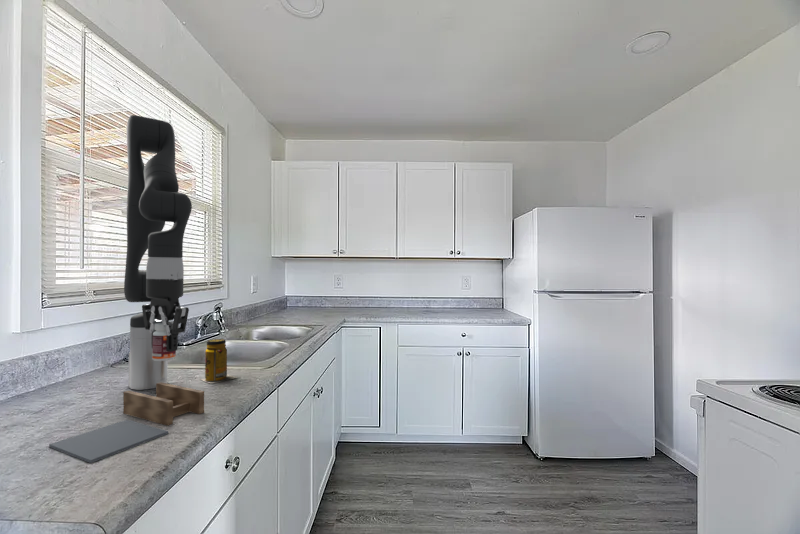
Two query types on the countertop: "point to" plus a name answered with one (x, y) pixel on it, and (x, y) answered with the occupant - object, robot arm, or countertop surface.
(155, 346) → the pill bottle
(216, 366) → the condiment
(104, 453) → the mat
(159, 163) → the robot arm
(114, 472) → the countertop surface
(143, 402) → the wooden rack
